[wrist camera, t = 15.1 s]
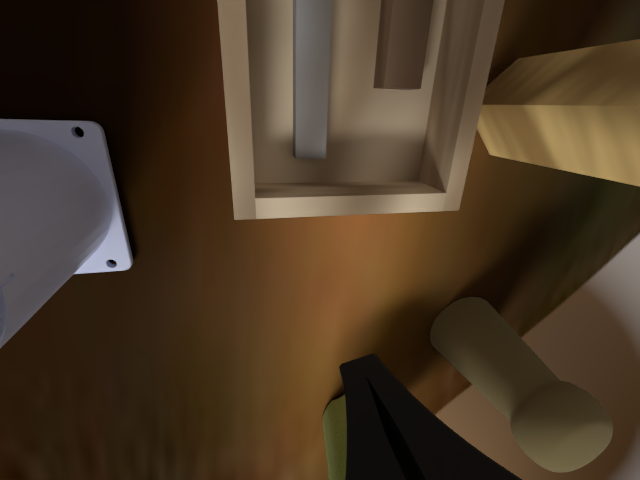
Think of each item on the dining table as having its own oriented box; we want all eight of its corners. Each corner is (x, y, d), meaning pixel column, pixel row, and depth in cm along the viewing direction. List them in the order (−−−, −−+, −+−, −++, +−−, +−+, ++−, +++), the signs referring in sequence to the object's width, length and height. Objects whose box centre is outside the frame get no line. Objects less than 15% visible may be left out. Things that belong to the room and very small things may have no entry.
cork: (452, 289, 25) (588, 410, 15) (505, 304, 27) (655, 419, 17) (417, 348, 27) (519, 490, 17) (469, 358, 29) (586, 489, 19)
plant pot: (314, 371, 25) (347, 490, 17) (416, 368, 28) (483, 471, 20) (295, 449, 28) (315, 579, 21) (387, 440, 31) (435, 553, 23)
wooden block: (489, 154, 21) (674, 193, 12) (465, 104, 19) (660, 106, 10) (538, 113, 21) (766, 122, 12) (518, 58, 19) (769, 18, 10)
